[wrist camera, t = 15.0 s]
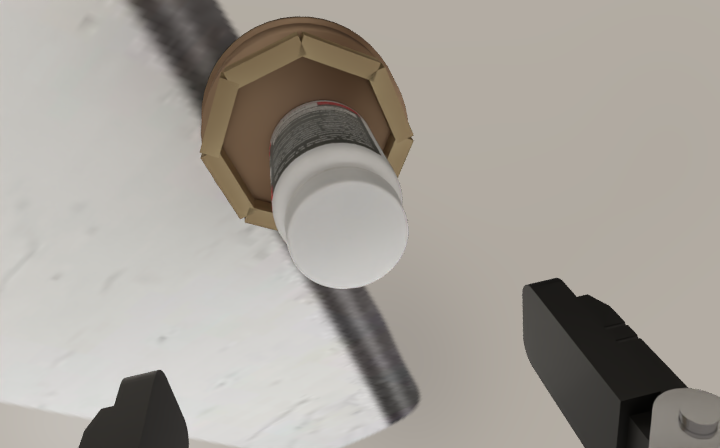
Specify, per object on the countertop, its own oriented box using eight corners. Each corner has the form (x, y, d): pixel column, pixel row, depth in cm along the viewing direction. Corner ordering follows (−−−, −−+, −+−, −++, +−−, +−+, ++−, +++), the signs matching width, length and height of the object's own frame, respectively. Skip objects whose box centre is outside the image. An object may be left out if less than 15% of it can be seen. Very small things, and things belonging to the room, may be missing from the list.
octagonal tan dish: (182, 179, 28) (170, 214, 25) (232, -17, 24) (227, -8, 21) (359, 226, 31) (371, 263, 27) (428, 57, 27) (452, 76, 24)
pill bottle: (246, 148, 25) (240, 239, 17) (325, 75, 24) (354, 138, 16) (319, 216, 27) (340, 322, 19) (394, 151, 26) (446, 238, 19)
